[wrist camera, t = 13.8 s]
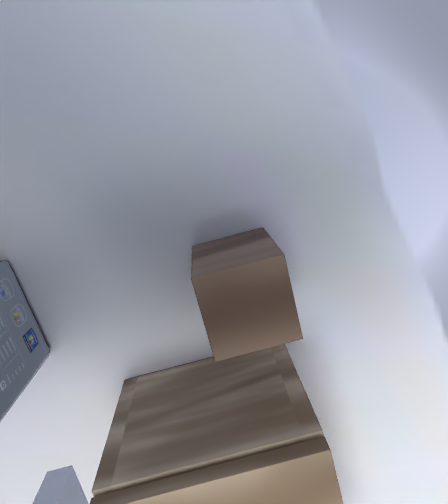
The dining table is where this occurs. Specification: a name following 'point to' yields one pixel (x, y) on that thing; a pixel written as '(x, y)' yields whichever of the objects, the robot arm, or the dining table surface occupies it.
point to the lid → (247, 481)
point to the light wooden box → (204, 418)
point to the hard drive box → (17, 341)
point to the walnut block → (244, 294)
